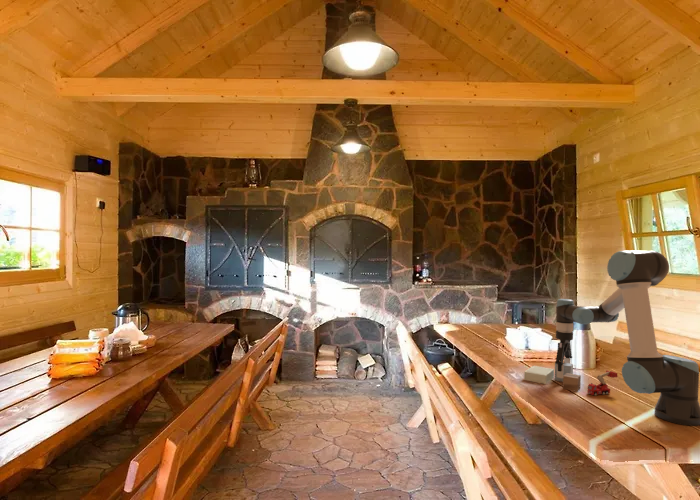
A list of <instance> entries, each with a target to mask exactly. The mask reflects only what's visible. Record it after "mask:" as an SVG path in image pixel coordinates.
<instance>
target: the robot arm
mask: <svg viewBox="0 0 700 500" xmlns="http://www.w3.org/2000/svg"><path fill="white" fill-rule="evenodd" d="M606 269H607V270H606V271H607V274H608V276H609V277H610V279H612V280H614V281H615V283H616V287H617V289H616V290H615V291H614V292H613V293H612V294H610V296H608V297H606V299H605V300H603V302H602V303H601V304H600V305H595V306H594V305H591V306H590V305H589V306H585V305H584V306H582V305H575V302H574V300H573V299H569V298H558V299H557V300H556V306H555V308H556V309H555V310H556V311H555V312H556V313H555V314H556V317H555V319H556V320H555V324H554V325H555V330H556V331H555V339H557V340H559V342H558V343H557V350H556V351H557V352H556V358H555V362H554V365H555V364H557V377H558V378H563V363H569V364H571V359H573V355H572V348H571V346H572V345H571V341H573V339H574V333H573V332H574V322H575V323H577V324H580V325H589V324H591V323H615V322H616V321H618V319H619V315H620V312H622V311H623V310H624V313H625V315H624V316H625V321H626V326H627V327H626V328H627V334H628V342H629V348H630V349H629V350H630V352H629V353H628V354H627V356H626V359H627V361H626V362H624V363H623V365H622V368H621V375H622V378H623V381H624V383H625V384H626V385H627V387H629V388H630V389H631V391H633V392H635V393H639V394H648V395H649V394H650V395H651V394H659V393H660V395H659V397H658V399H657V402H656V404H655V406H654V415H655V416H656V417H657V418H658V419H661V420H664V421H665V422H670V423H673V424H678V425H684V426H694V427H695V426H700V403H699V386H700V383H699V381H700V380H699V379H700V371H699V369H700V368H699V364H698V362H696V361H694V360H692V359H688V358H684V357H680V356H675V355H669V354H661V353H660V352H659V351H658V347H657V341H656V340H657V339H656V335H655V328H654V320H653V315H652V314H653V313H652V308H651V307H652V306H651V301H650V295H649V288H650V287H656V286H657V285H659V284H660V283H661V282H663V280H665V278H666V277H667V276H668V274H669V270H670V264H669V261H668V259H667V258H666V257H665V255H663V253H660V252H658V251H655V250H633V249H632V250H630V249H629V250H628V249H627V250H618V251H617V252H614V253H613V254H612V255H611V257H610V258H609V259H608V262H607V267H606Z"/></svg>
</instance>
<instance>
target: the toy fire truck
mask: <svg viewBox="0 0 700 500" xmlns="http://www.w3.org/2000/svg"><path fill="white" fill-rule="evenodd" d="M605 377H609V378H618V373H617V372H615V371H612V370H611V371H610V370H605V373H602V374H598V375H597V376H596V379H597V380H598V382H599V383H598V384H593V383H592V382H591V383H588V384H587V385H588V386H587V394H588V395H591V396H597V395H608V394H611V388H609V387H608V386H609V385H608V384H607V383H606V381H605Z"/></svg>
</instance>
